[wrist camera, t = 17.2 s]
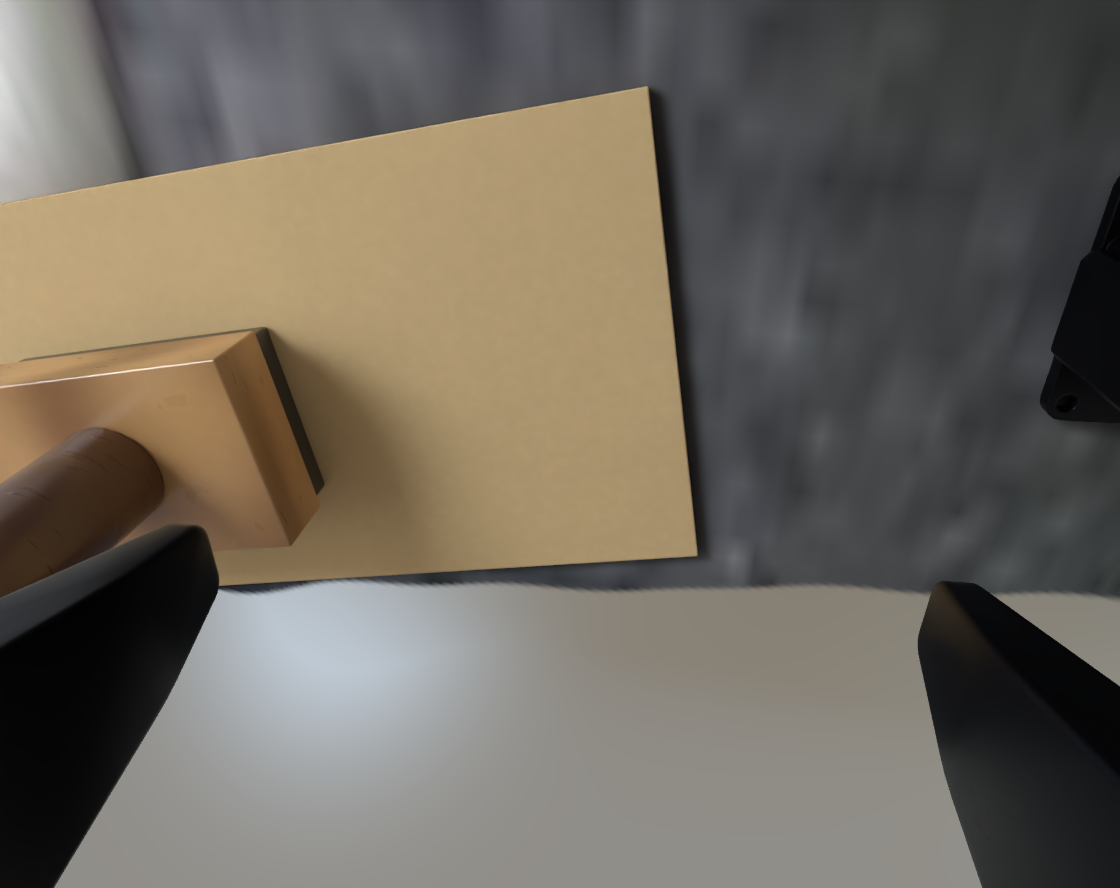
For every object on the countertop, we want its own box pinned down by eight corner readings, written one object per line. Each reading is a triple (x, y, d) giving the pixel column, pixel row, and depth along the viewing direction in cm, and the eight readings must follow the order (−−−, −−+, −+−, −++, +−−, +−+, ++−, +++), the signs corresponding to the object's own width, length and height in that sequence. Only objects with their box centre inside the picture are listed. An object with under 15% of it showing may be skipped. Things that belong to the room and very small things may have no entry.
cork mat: (648, 85, 18) (648, 86, 18) (697, 551, 25) (698, 556, 24) (-88, 220, 22) (-97, 222, 22) (118, 587, 29) (113, 592, 28)
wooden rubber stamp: (271, 318, 22) (-73, 565, 12) (333, 489, 25) (98, 811, 15) (15, 352, 24) (-479, 595, 14) (100, 509, 27) (-257, 810, 16)
